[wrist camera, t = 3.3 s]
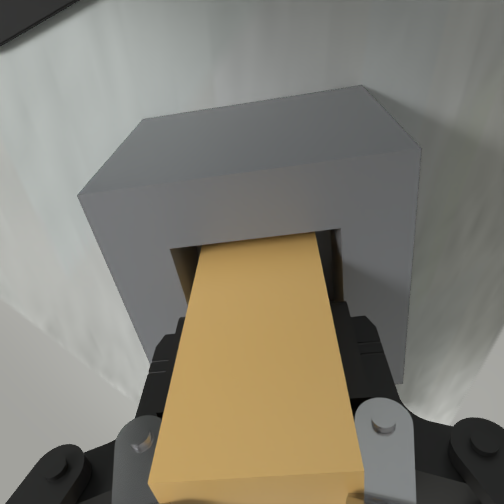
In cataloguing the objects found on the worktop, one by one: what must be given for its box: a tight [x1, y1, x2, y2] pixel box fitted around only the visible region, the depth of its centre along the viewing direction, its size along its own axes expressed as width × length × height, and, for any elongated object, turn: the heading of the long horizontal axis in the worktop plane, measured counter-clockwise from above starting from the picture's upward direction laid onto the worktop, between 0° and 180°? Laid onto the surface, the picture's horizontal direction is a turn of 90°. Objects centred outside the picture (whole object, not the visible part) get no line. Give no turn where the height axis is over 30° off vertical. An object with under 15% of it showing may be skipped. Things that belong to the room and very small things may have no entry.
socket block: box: [77, 85, 422, 384], centre depth 20 cm, size 20×10×8 cm, turn 9°
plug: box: [147, 232, 364, 504], centre depth 13 cm, size 5×4×10 cm
